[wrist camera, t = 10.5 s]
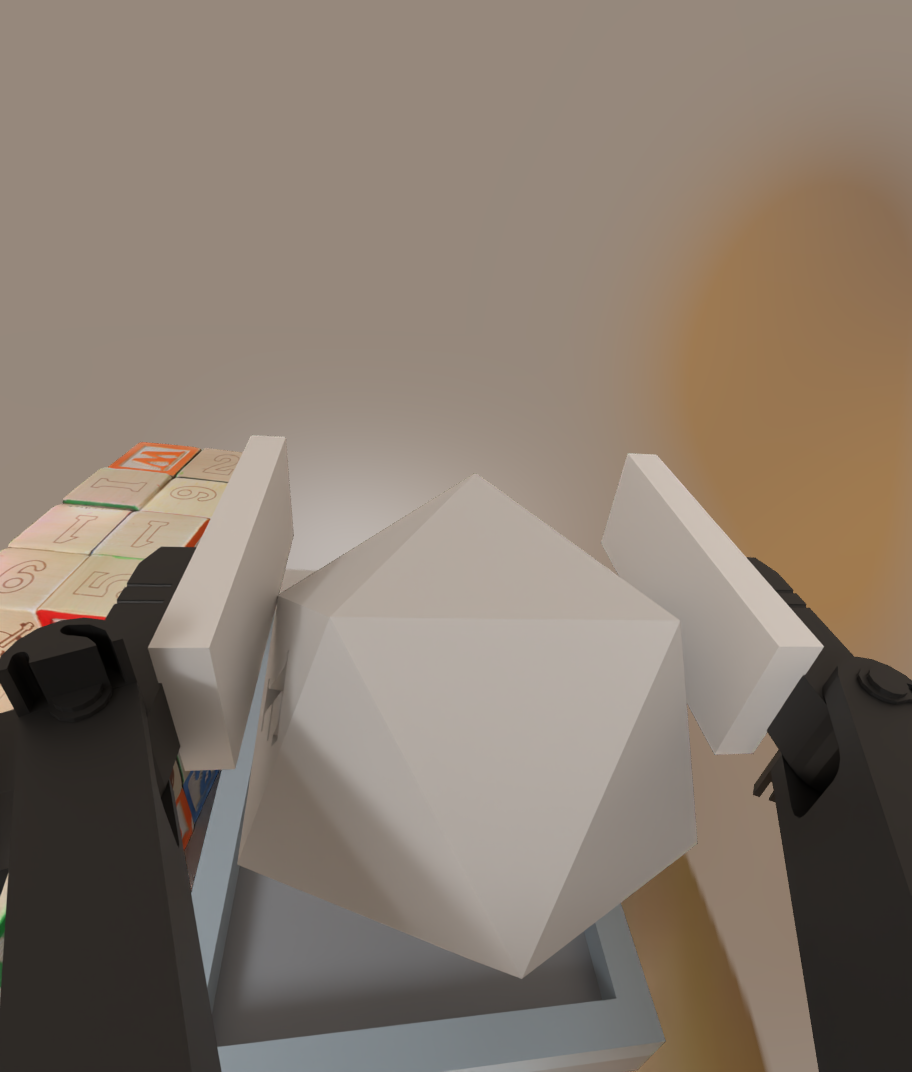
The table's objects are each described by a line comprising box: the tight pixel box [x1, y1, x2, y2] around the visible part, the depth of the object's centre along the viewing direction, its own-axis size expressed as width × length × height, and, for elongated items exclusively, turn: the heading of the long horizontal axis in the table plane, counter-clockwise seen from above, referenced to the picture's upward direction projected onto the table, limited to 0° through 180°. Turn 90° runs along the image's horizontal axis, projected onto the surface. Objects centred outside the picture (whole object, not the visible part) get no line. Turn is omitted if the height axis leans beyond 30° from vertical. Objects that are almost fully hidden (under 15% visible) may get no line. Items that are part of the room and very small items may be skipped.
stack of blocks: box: [0, 442, 276, 995], centre depth 22 cm, size 21×6×12 cm, turn 177°
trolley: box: [191, 612, 666, 1072], centre depth 22 cm, size 13×17×6 cm
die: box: [237, 473, 698, 979], centre depth 11 cm, size 8×9×10 cm
